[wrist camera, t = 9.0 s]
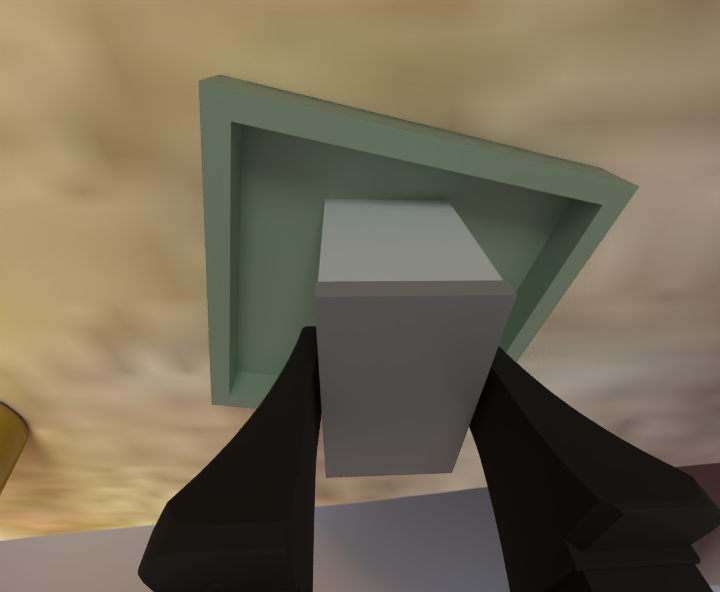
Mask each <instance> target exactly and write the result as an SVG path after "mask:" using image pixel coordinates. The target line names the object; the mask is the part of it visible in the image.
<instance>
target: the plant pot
mask: <svg viewBox="0 0 720 592" xmlns="http://www.w3.org/2000/svg"><path fill="white" fill-rule="evenodd" d="M27 438H28V430H27V427H26V425H25V423H24V422H23V421H22V420H21V418H20V417H19V416H18V415H17V414H16V413H14V412H13V411H12V410H11V409H9V408H8V407H6V406H5V405H3V404H1V403H0V494H1V492H2V490H3V488H4V486H5V484H6V482H7V480H8V478H9V476H10V474H11V472H12V470H13V468H14V466H15V464H16V462H17V460H18V458H19V456H20V454H21V452H22V450H23V448H24V446H25V444H26V441H27Z"/></svg>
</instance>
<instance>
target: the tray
mask: <svg viewBox="0 0 720 592" xmlns="http://www.w3.org/2000/svg"><path fill="white" fill-rule="evenodd" d="M199 98H200V123H201V148H202V173H203V198H204V223H205V248H206V273H207V298H208V323H209V348H210V373H211V398H212V405H223V406H234V407H246V408H258V407H259V405H260V404H261V402H262V401H263V400H264V398H265V397H266V395H267V394H268V392H269V391H270V389H271V388H272V386H273V384H274V383H275V381H276V380H277V378H278V377H279V375H280V373H281V372H282V370H283V368H284V366H285V364H286V363H287V361H288V359H289V357H290V355H291V353H292V351H293V349H294V347H295V345H296V343H297V340H298V338H299V336H300V333H301V330H302V328H303V327H305V326H316V317H315V302H314V293H315V283H316V282H318V276H319V264H320V252H321V240H322V228H323V217H324V205H325V199H416V200H448V201H449V202H450V204H451V205H452V207H453V208H454V210H455V211H456V213H457V214H458V215H459V217H460V218H461V220H462V221H463V223H464V224H465V226H466V227H467V229H468V230H469V231H470V233H471V234H472V236H473V237H474V239H475V240H476V242H477V243H478V245H479V246H480V247H481V249H482V250H483V252H484V253H485V255H486V256H487V258H488V259H489V261H490V262H491V263H492V265H493V266H494V268H495V269H496V271H497V272H498V274H499V275H500V277H501V278H502V279H503V280H507V281H508V283H509V284H510V285H511V287H512V288H513V290H514V291H515V293H516V294H517V297H516V300H515V302H514V305H513V308H512V311H511V313H510V316H509V319H508V321H507V324H506V327H505V330H504V332H503V335H502V338H501V340H500V343H499V347H501V348H502V349H503V350H504V351H505V352H506V353H507V354H508V355H509V356H510V357H511V358H512V359H513V360H514V361H515V362H517V361H518V359H519V358H520V356H521V355H522V354H523V352H524V351H525V349H526V348H527V346H528V345H529V343H530V342H531V341H532V339H533V338H534V336H535V335H536V333H537V332H538V331H539V329H540V328H541V326H542V325H543V323H544V322H545V321H546V319H547V318H548V316H549V315H550V313H551V312H552V311H553V309H554V308H555V306H556V305H557V303H558V302H559V301H560V299H561V298H562V296H563V295H564V293H565V292H566V291H567V289H568V288H569V286H570V285H571V283H572V282H573V280H574V279H575V278H576V276H577V275H578V273H579V272H580V270H581V269H582V268H583V266H584V265H585V263H586V262H587V260H588V259H589V258H590V256H591V255H592V253H593V252H594V250H595V249H596V248H597V246H598V245H599V243H600V242H601V240H602V239H603V238H604V236H605V235H606V233H607V232H608V230H609V229H610V227H611V226H612V225H613V223H614V222H615V220H616V219H617V217H618V216H619V215H620V213H621V212H622V210H623V209H624V207H625V206H626V205H627V203H628V202H629V200H630V199H631V197H632V196H633V195H634V193H635V192H636V190H637V189H638V187H639V186H637V185H635V184H633V183H631V182H628V181H626V180H624V179H622V178H620V177H618V176H616V175H614V174H612V173H610V172H608V171H605V170H603V169H601V168H597V167H593V166H589V165H585V164H581V163H577V162H573V161H569V160H565V159H561V158H557V157H553V156H548V155H544V154H540V153H536V152H532V151H528V150H524V149H520V148H516V147H512V146H508V145H504V144H500V143H496V142H492V141H487V140H483V139H479V138H475V137H471V136H467V135H463V134H459V133H455V132H451V131H447V130H443V129H439V128H435V127H430V126H426V125H422V124H418V123H414V122H410V121H406V120H402V119H398V118H394V117H390V116H386V115H382V114H378V113H374V112H369V111H365V110H361V109H357V108H353V107H349V106H345V105H341V104H337V103H333V102H329V101H325V100H321V99H317V98H313V97H308V96H304V95H300V94H296V93H292V92H288V91H284V90H280V89H276V88H272V87H268V86H264V85H260V84H256V83H251V82H247V81H243V80H239V79H235V78H231V77H227V76H223V75H217V76H214V77H210V78H207V79H203V80H199Z"/></svg>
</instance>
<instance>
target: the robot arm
mask: <svg viewBox="0 0 720 592" xmlns="http://www.w3.org/2000/svg"><path fill="white" fill-rule="evenodd" d="M321 414H322V408H321V393H320V377H319V362H318V347H317V332H316V326H305V327H303V328H302V330H301V333H300V336H299V338H298V340H297V343H296V345H295V347H294V349H293V351H292V353H291V355H290V357H289V359H288V361H287V363H286V364H285V366H284V368H283V370H282V372H281V373H280V375H279V377H278V378H277V380H276V381H275V383H274V384H273V386H272V388H271V389H270V391H269V392H268V394H267V395H266V397H265V398H264V400H263V401H262V402H261V404H260V405H259V407H258V408H257V409H256V411H255V412H254V413H253V415H252V416H251V417H250V418H249V420H248V421H247V422H246V423H245V424H244V426H243V427H242V428H241V429H240V430H239V432H238V433H237V434H236V435H235V436H234V437H233V439H232V440H231V441H230V442H229V443H228V444H227V445H226V446H225V447H224V448H223V449H222V450H221V451H220V453H219V454H218V455H217V456H216V457H215V458H214V459H213V460H212V461H211V462H210V463H209V464H208V465H207V466H206V467H205V468H204V469H203V470H202V471H201V472H200V473H199V474H198V475H197V476H196V477H195V478H193V479H192V480H191V481H190V482H189V483H188V484H187V485H186V486H185V487H184V488H183V489H181V490H180V491H179V492H178V493H177V494H176V495H175V496H174V497H173V498H172V499H170V500H169V501H168V502H167V504H166V506H165V508H164V510H163V512H162V513H161V515H160V517H159V519H158V522H157V524H156V526H155V527H154V529H153V532H152V534H151V536H150V539H149V542H148V544H147V547H146V550H145V553H144V555H143V558H142V560H141V564H140V566H139V569H138V575H139V577H140V578H141V580H142V581H143V583H144V584H146V585H147V586H148V587H149V588H150V589H151V590H152V591H154V592H313V545H314V508H315V475H316V456H317V446H318V438H319V430H320V422H321ZM469 427H470V430H471V433H472V435H473V438H474V441H475V443H476V446H477V449H478V452H479V455H480V459H481V463H482V466H483V470H484V474H485V478H486V482H487V485H488V490H489V494H490V498H491V502H492V506H493V510H494V514H495V519H496V523H497V528H498V533H499V537H500V542H501V546H502V551H503V556H504V562H505V567H506V572H507V577H508V582H509V588H510V592H720V585H709V584H708V583H707V582H706V580H705V579H704V577H703V576H702V575H701V573H700V571H699V570H698V568H697V567H696V565H695V564H698V563H700V558H699V556H698V555H697V553H696V552H695V551H694V549H693V548H692V546H691V544H693V543H694V542H696V541H697V540H699V539H700V538H702V537H703V536H705V535H707V534H708V533H710V532H711V531H712V530H714V529H715V528H716V527H718V526H719V524H720V509H719V508H718V507H717V506H716V505H715V503H714V502H713V501H712V499H711V498H710V497H709V496H708V495H707V493H706V492H705V491H704V490H703V488H702V487H701V486H700V485H699V484H698V482H697V481H696V480H695V479H694V478H693V477H692V476H691V475H689V474H687V473H685V472H683V471H681V470H679V469H677V468H675V467H673V466H671V465H669V464H667V463H665V462H663V461H661V460H659V459H657V458H655V457H653V456H651V455H649V454H647V453H646V452H644V451H642V450H640V449H638V448H637V447H635V446H633V445H631V444H630V443H628V442H626V441H624V440H622V439H621V438H619V437H617V436H616V435H614V434H612V433H611V432H609V431H607V430H606V429H604V428H602V427H601V426H599V425H598V424H596V423H595V422H593V421H592V420H590V419H588V418H587V417H585V416H584V415H582V414H581V413H579V412H578V411H576V410H575V409H574V408H572V407H571V406H569V405H568V404H567V403H565V402H564V401H563V400H561V399H560V398H558V397H557V396H556V395H554V394H553V393H552V392H551V391H549V390H548V389H547V388H545V387H544V386H543V385H542V384H541V383H539V382H538V381H537V380H536V379H535V378H533V377H532V376H531V375H530V374H529V373H527V372H526V371H525V370H524V369H523V368H522V367H521V366H520V365H519V364H517V363H516V362H515V361H514V360H513V359H512V358H511V357H510V356H509V355H508V354H507V353H506V352H505V351H504V350H503V349H502V348H501V347H499V346H498V349H497V351H496V354H495V357H494V360H493V362H492V365H491V368H490V370H489V373H488V376H487V379H486V381H485V384H484V387H483V390H482V392H481V395H480V398H479V400H478V403H477V406H476V409H475V411H474V414H473V417H472V419H471V422H470V425H469Z"/></svg>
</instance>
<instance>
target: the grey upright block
mask: <svg viewBox="0 0 720 592" xmlns="http://www.w3.org/2000/svg"><path fill="white" fill-rule="evenodd" d="M516 297H517V294H516V293H515V291H514V290H513V288H512V287H511V285H510V284H509V283H508V281H507V280H503V279H502V278H501V277H500V275H499V274H498V272H497V271H496V269H495V268H494V266H493V265H492V263H491V262H490V261H489V259H488V258H487V256H486V255H485V253H484V252H483V250H482V249H481V247H480V246H479V245H478V243H477V242H476V240H475V239H474V237H473V236H472V234H471V233H470V231H469V230H468V229H467V227H466V226H465V224H464V223H463V221H462V220H461V218H460V217H459V215H458V214H457V213H456V211H455V210H454V208H453V207H452V205H451V204H450V202H449V201H448V200H416V199H325V205H324V217H323V228H322V240H321V252H320V264H319V276H318V282H316V283H315V293H314V302H315V317H316V332H317V347H318V362H319V377H320V393H321V408H322V423H323V438H324V453H325V468H326V478H331V477H357V476H383V475H409V474H435V473H452V471H453V468H454V466H455V463H456V460H457V458H458V455H459V452H460V449H461V447H462V444H463V441H464V439H465V436H466V433H467V430H468V428H469V425H470V422H471V419H472V417H473V414H474V411H475V409H476V406H477V403H478V400H479V398H480V395H481V392H482V390H483V387H484V384H485V381H486V379H487V376H488V373H489V370H490V368H491V365H492V362H493V360H494V357H495V354H496V351H497V349H498V346H499V343H500V340H501V338H502V335H503V332H504V330H505V327H506V324H507V321H508V319H509V316H510V313H511V311H512V308H513V305H514V302H515V300H516Z"/></svg>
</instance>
